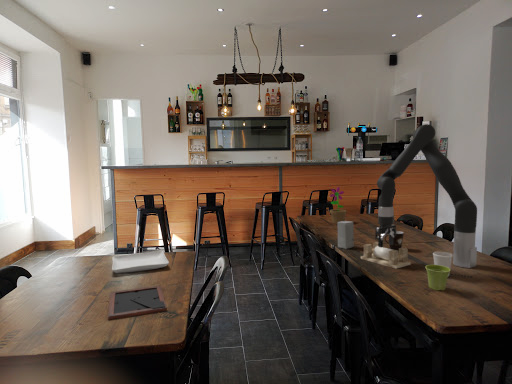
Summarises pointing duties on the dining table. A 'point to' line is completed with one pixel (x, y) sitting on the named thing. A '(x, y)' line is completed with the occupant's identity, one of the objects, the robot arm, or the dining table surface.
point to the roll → (383, 253)
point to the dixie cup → (443, 259)
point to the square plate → (139, 262)
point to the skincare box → (345, 234)
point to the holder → (393, 257)
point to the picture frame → (136, 302)
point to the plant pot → (437, 276)
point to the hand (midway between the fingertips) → (385, 245)
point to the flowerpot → (338, 214)
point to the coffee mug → (396, 240)
